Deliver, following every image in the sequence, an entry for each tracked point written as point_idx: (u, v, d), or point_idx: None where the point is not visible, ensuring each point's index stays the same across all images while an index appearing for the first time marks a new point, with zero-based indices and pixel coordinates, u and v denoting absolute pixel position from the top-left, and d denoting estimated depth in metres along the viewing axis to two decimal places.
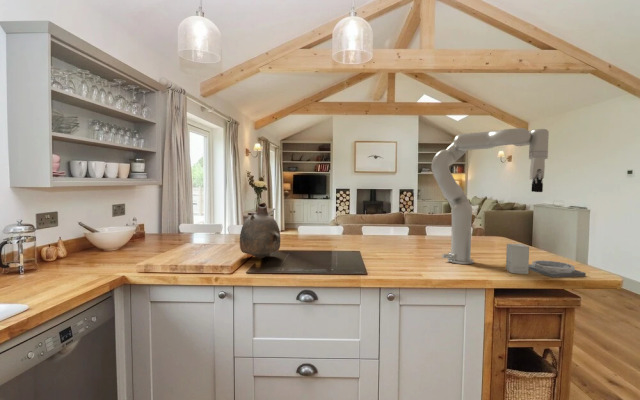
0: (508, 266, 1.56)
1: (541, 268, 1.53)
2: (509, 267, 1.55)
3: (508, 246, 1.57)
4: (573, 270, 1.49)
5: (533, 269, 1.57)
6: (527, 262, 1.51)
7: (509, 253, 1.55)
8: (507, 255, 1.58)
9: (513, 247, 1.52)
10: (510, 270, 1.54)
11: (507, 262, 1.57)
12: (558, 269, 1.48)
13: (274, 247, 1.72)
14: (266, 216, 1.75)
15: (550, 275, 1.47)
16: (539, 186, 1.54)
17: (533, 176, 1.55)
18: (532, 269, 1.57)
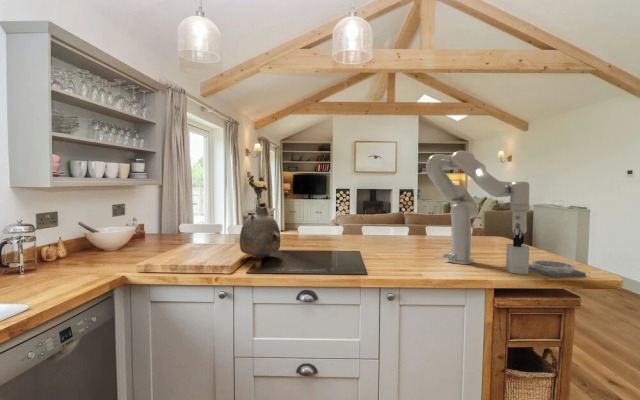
0: (508, 266, 1.56)
1: (541, 268, 1.53)
2: (509, 267, 1.55)
3: (508, 246, 1.57)
4: (573, 270, 1.49)
5: (533, 269, 1.57)
6: (527, 262, 1.51)
7: (509, 253, 1.55)
8: (507, 255, 1.58)
9: (513, 247, 1.52)
10: (510, 270, 1.54)
11: (507, 262, 1.57)
12: (558, 269, 1.48)
13: (274, 247, 1.72)
14: (266, 216, 1.75)
15: (550, 275, 1.47)
16: None
17: None
18: (532, 269, 1.57)
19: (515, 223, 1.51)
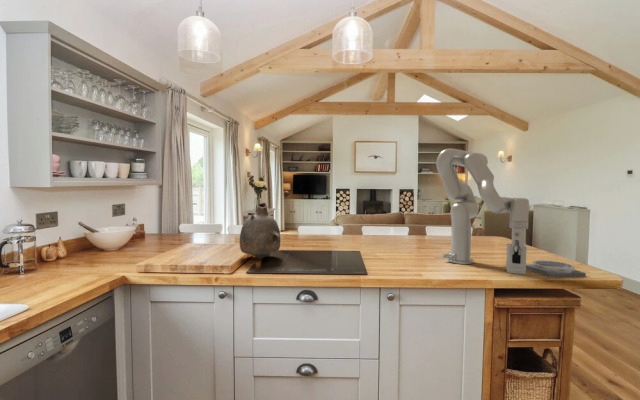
0: (506, 265, 1.56)
1: (541, 268, 1.53)
2: (507, 266, 1.55)
3: (507, 246, 1.57)
4: (573, 270, 1.49)
5: (533, 269, 1.57)
6: (524, 262, 1.51)
7: (507, 252, 1.56)
8: None
9: (509, 247, 1.53)
10: (507, 270, 1.54)
11: (506, 262, 1.58)
12: (558, 269, 1.48)
13: (274, 247, 1.72)
14: (266, 216, 1.75)
15: (550, 275, 1.47)
16: None
17: None
18: (532, 269, 1.57)
19: (514, 240, 1.51)
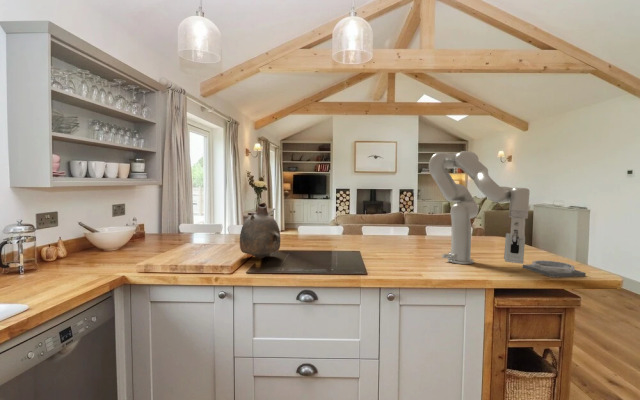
0: (504, 254, 1.57)
1: (541, 268, 1.53)
2: (505, 255, 1.56)
3: (506, 235, 1.58)
4: (573, 270, 1.49)
5: (533, 269, 1.57)
6: (522, 252, 1.52)
7: (506, 242, 1.56)
8: (505, 244, 1.59)
9: (508, 236, 1.53)
10: (505, 259, 1.55)
11: None
12: (558, 269, 1.48)
13: (274, 247, 1.72)
14: (266, 216, 1.75)
15: (550, 275, 1.47)
16: None
17: None
18: (532, 269, 1.57)
19: (513, 229, 1.51)
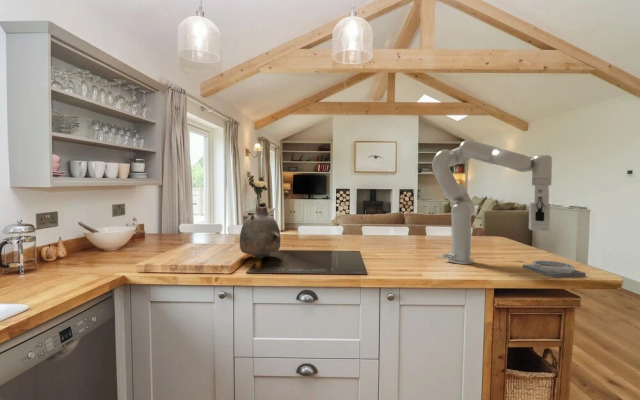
0: (529, 223, 1.56)
1: (541, 268, 1.53)
2: (529, 224, 1.55)
3: (530, 204, 1.57)
4: (573, 270, 1.49)
5: (533, 269, 1.57)
6: (548, 219, 1.50)
7: (530, 210, 1.55)
8: (529, 214, 1.58)
9: (532, 204, 1.53)
10: (530, 227, 1.54)
11: (529, 220, 1.58)
12: (558, 269, 1.48)
13: (274, 247, 1.72)
14: (266, 216, 1.75)
15: (550, 275, 1.47)
16: None
17: None
18: (532, 269, 1.57)
19: (537, 196, 1.51)
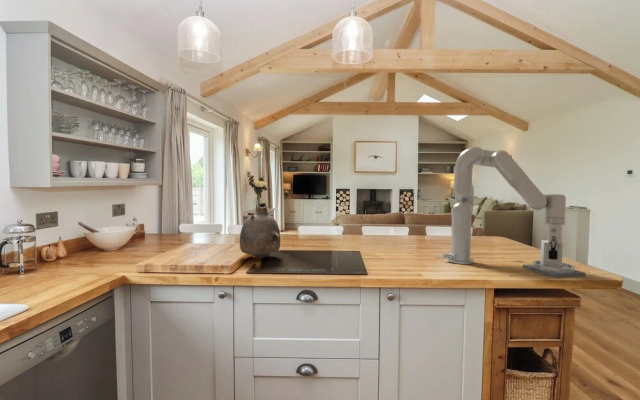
0: (541, 262, 1.57)
1: (541, 268, 1.53)
2: (542, 263, 1.57)
3: (542, 242, 1.58)
4: (573, 270, 1.49)
5: (533, 269, 1.57)
6: (560, 259, 1.52)
7: (542, 249, 1.57)
8: (541, 251, 1.59)
9: (545, 243, 1.54)
10: None
11: (541, 258, 1.59)
12: (558, 269, 1.48)
13: (274, 247, 1.72)
14: (266, 216, 1.75)
15: (550, 275, 1.47)
16: None
17: None
18: (532, 269, 1.57)
19: (551, 236, 1.52)
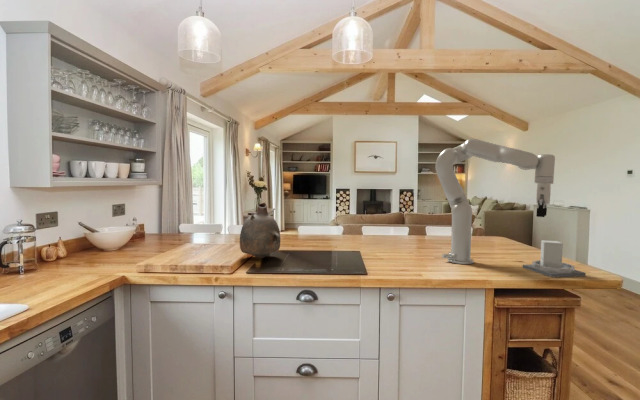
0: (541, 262, 1.57)
1: (541, 268, 1.53)
2: (542, 263, 1.57)
3: (542, 242, 1.58)
4: (573, 270, 1.49)
5: (533, 269, 1.57)
6: (560, 259, 1.52)
7: (542, 249, 1.57)
8: (541, 251, 1.59)
9: (545, 243, 1.54)
10: None
11: (541, 258, 1.59)
12: (558, 269, 1.48)
13: (274, 247, 1.72)
14: (266, 216, 1.75)
15: (550, 275, 1.47)
16: None
17: None
18: (532, 269, 1.57)
19: (539, 194, 1.56)
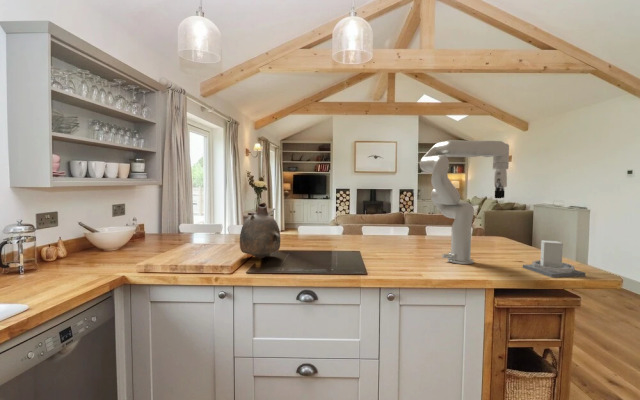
0: (541, 262, 1.57)
1: (541, 268, 1.53)
2: (542, 263, 1.57)
3: (542, 242, 1.58)
4: (573, 270, 1.49)
5: (533, 269, 1.57)
6: (560, 259, 1.52)
7: (542, 249, 1.57)
8: (541, 251, 1.59)
9: (545, 243, 1.54)
10: None
11: (541, 258, 1.59)
12: (558, 269, 1.48)
13: (274, 247, 1.72)
14: (266, 216, 1.75)
15: (550, 275, 1.47)
16: None
17: None
18: (532, 269, 1.57)
19: (496, 178, 1.78)
